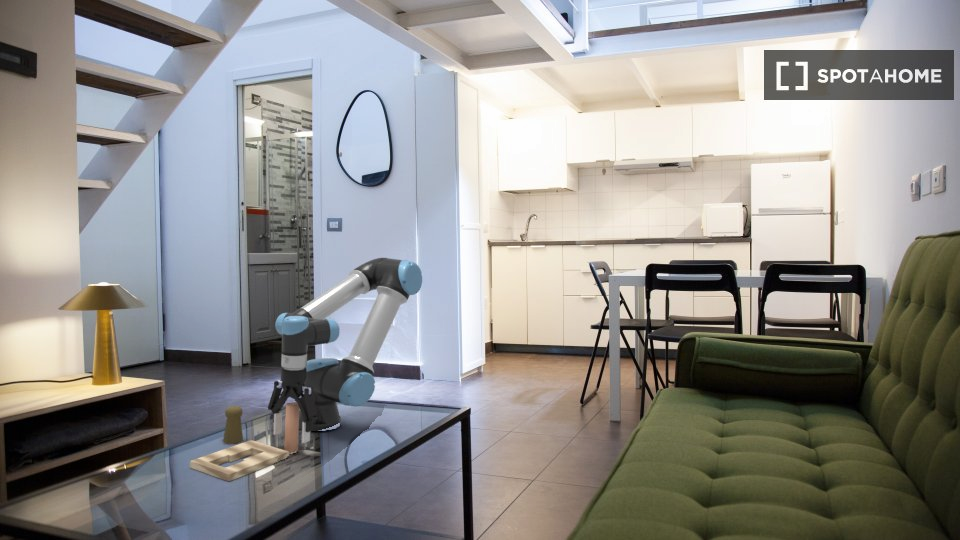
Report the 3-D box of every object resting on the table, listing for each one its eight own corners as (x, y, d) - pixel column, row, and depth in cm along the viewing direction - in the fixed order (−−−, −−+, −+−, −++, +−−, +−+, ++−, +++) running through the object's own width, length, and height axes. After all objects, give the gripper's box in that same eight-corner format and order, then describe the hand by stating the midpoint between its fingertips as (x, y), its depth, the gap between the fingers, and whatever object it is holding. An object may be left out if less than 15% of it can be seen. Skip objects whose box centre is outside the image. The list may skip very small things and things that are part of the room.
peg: (291, 448, 212) (292, 401, 211) (300, 451, 210) (302, 404, 209) (281, 452, 209) (283, 404, 207) (291, 455, 207) (292, 407, 205)
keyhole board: (250, 446, 212) (251, 440, 212) (288, 458, 204) (288, 451, 204) (190, 467, 193) (190, 460, 193) (228, 481, 185) (229, 474, 185)
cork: (241, 444, 214) (242, 409, 213) (221, 444, 213) (222, 409, 212) (244, 437, 220) (245, 404, 219) (225, 437, 219) (225, 403, 218)
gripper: (256, 363, 209) (254, 432, 211) (314, 376, 198) (311, 449, 200) (275, 359, 216) (273, 426, 218) (331, 371, 205) (329, 442, 207)
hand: (291, 437), depth 209 cm, fingers open, 11 cm apart
